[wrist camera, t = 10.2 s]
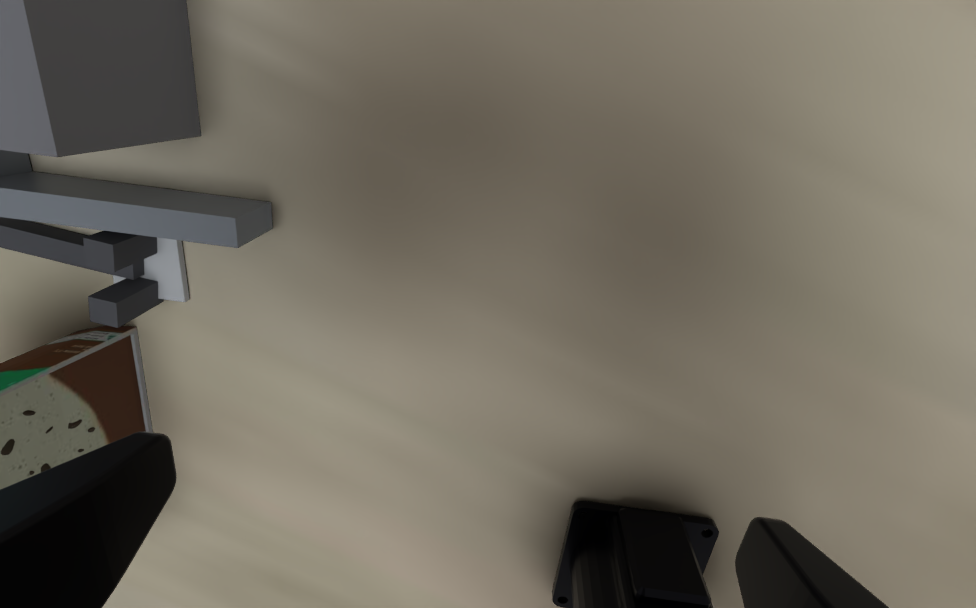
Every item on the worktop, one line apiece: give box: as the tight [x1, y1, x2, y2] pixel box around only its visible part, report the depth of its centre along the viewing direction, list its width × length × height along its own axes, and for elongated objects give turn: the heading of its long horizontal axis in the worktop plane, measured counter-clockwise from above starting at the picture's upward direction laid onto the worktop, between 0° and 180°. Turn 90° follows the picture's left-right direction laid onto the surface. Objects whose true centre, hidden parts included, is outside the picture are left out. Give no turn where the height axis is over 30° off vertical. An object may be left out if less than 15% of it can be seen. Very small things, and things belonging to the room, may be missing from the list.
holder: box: [0, 150, 273, 248], centre depth 16 cm, size 11×10×2 cm
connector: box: [0, 0, 201, 157], centre depth 14 cm, size 5×5×6 cm
